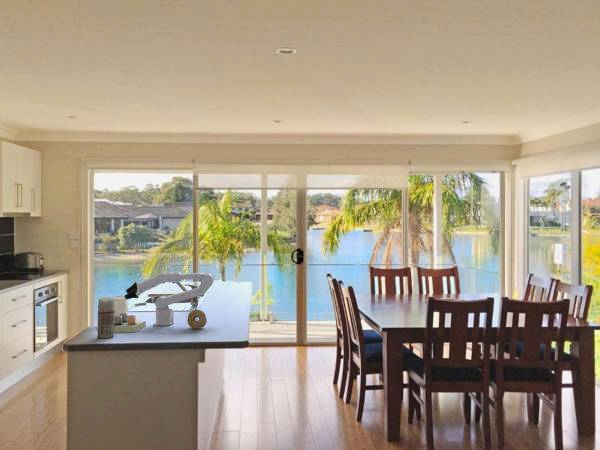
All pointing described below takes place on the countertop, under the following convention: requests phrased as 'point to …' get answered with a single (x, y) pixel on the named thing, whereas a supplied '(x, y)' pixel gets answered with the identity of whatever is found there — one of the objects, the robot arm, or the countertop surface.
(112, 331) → the spray can
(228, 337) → the countertop surface
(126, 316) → the grey plug
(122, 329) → the socket board
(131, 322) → the terracotta plug
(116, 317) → the grey plug
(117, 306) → the jar
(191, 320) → the mottled brown donut
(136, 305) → the countertop surface
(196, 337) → the countertop surface
